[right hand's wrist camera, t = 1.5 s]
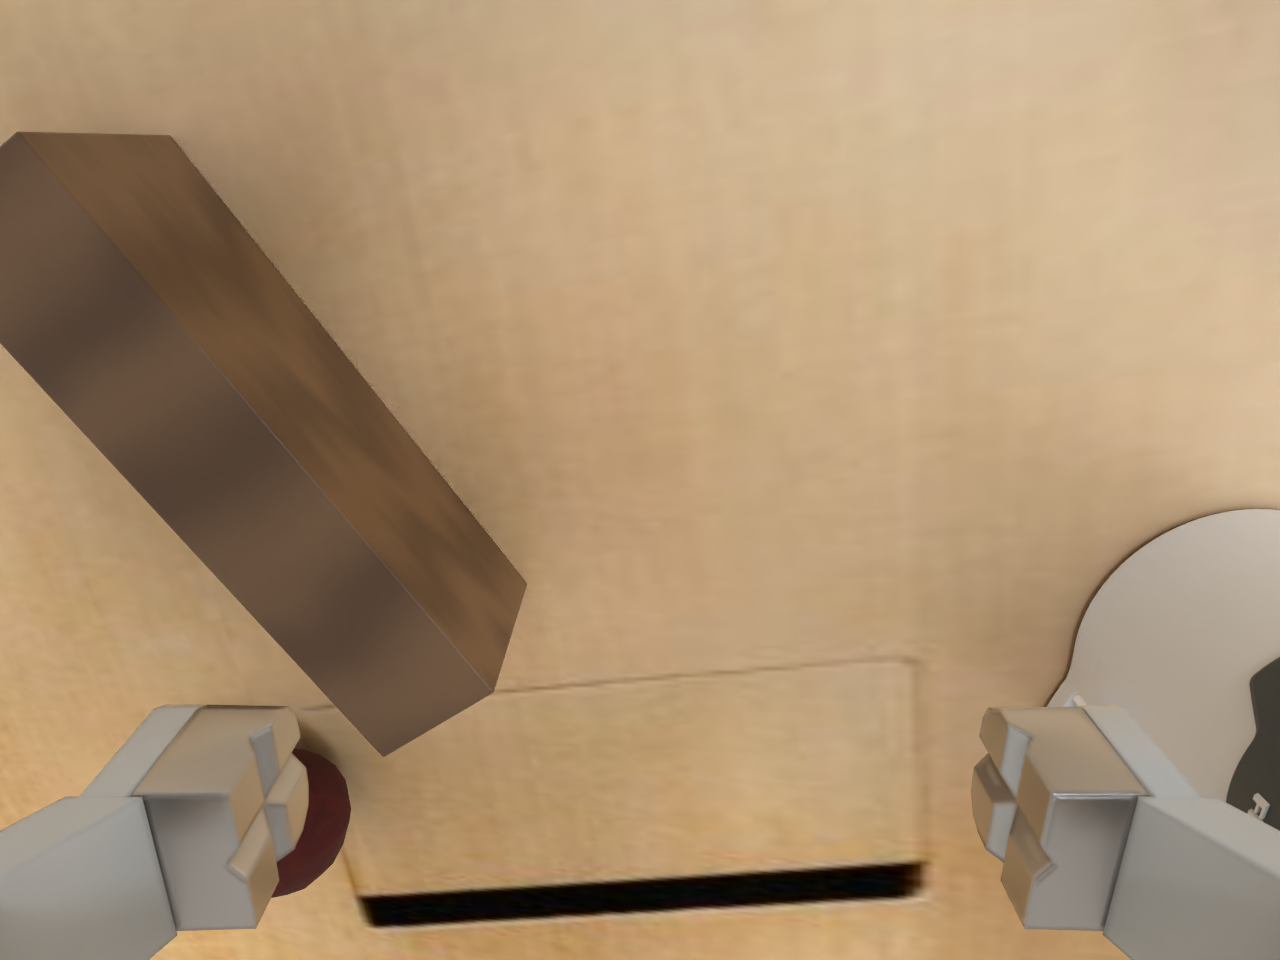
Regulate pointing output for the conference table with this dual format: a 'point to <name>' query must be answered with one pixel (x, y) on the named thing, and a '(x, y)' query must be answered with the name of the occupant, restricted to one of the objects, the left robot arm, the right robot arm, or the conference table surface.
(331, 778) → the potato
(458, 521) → the bar
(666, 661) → the conference table surface
